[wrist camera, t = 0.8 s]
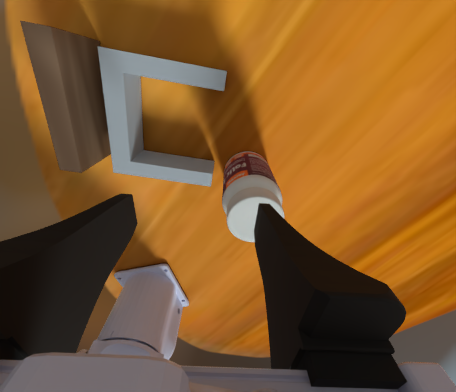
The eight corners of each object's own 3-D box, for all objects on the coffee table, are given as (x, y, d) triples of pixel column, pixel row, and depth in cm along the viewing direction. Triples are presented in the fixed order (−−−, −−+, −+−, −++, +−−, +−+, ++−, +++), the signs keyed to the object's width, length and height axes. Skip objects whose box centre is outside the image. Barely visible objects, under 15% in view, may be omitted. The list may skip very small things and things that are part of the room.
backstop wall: (99, 40, 16) (50, 26, 11) (113, 152, 20) (81, 172, 16) (77, 36, 16) (20, 20, 11) (96, 150, 20) (59, 169, 16)
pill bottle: (236, 142, 20) (241, 179, 12) (277, 162, 21) (304, 208, 13) (215, 181, 22) (210, 233, 15) (254, 198, 23) (266, 254, 16)
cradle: (226, 72, 17) (226, 71, 14) (212, 172, 21) (210, 186, 18) (120, 51, 16) (97, 46, 13) (128, 159, 20) (113, 172, 18)
